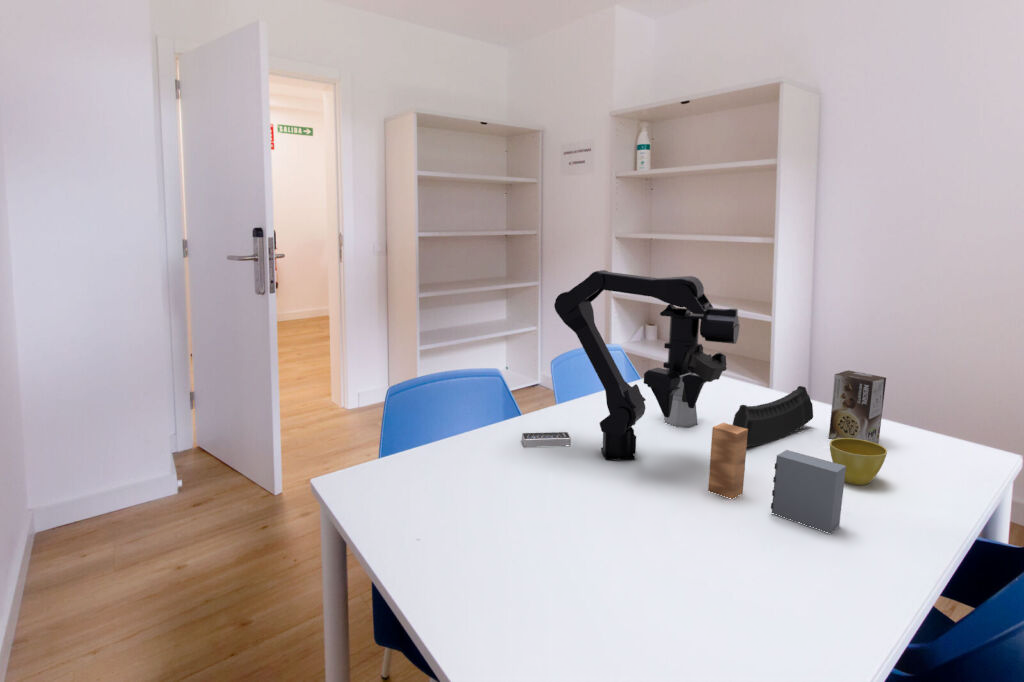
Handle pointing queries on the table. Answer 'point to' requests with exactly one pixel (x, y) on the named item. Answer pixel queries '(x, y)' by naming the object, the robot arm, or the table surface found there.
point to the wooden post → (727, 460)
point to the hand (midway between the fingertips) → (679, 412)
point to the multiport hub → (546, 439)
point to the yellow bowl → (858, 458)
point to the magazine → (775, 417)
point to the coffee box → (857, 406)
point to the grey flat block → (808, 490)
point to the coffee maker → (681, 409)
